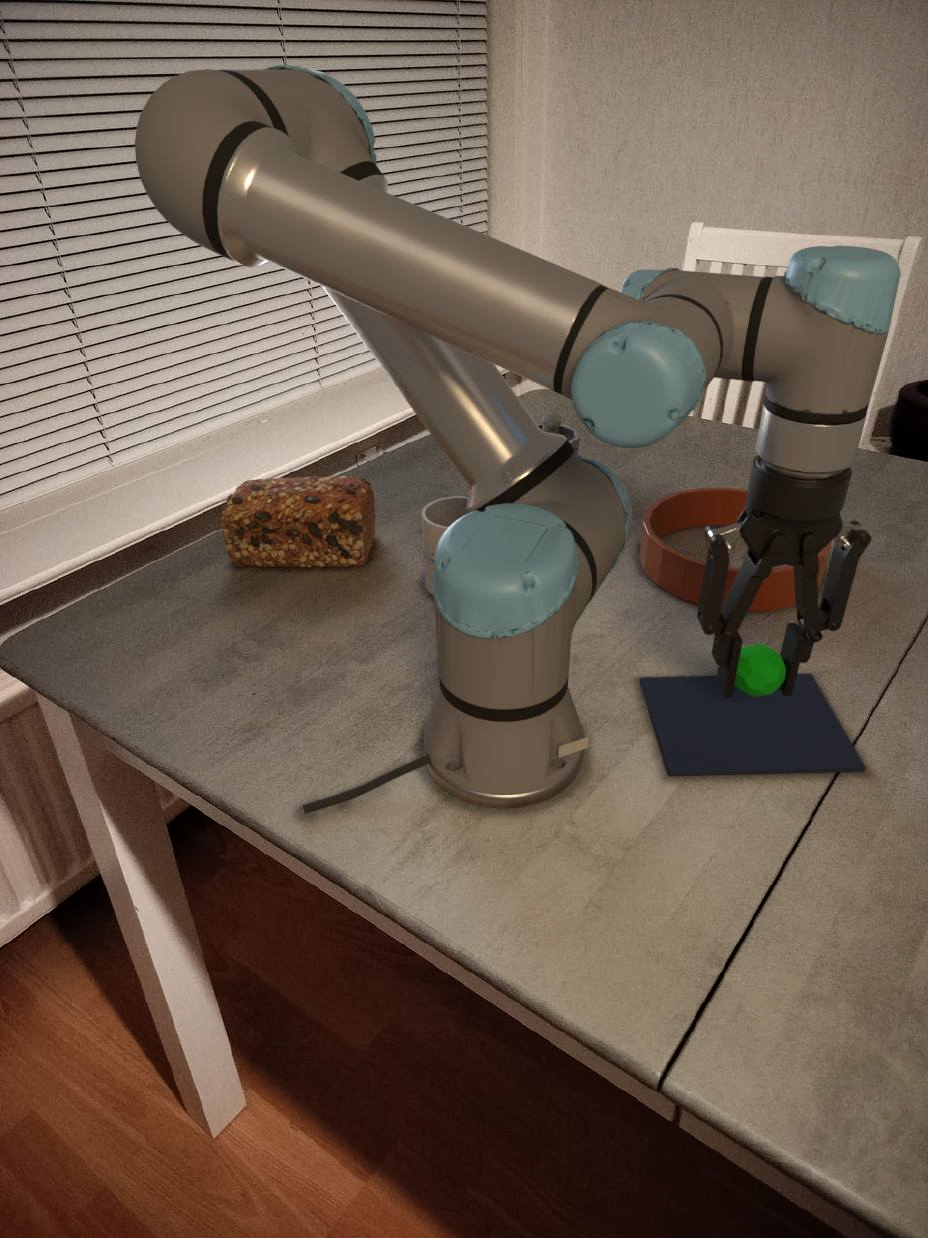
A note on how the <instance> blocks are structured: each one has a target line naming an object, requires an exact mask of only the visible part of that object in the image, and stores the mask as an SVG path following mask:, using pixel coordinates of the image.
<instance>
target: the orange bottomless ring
mask: <svg viewBox="0 0 928 1238" xmlns="http://www.w3.org/2000/svg"><path fill="white" fill-rule="evenodd" d="M747 491H748V489H742V488H735V487H734V488H733V487H697V488H692V489H686V490H681V491H680V490H679V491H676V492H672V493H671V494H668V495H666V496H663V497H661V498H659V499H657V500H656V501H654V503H653V504H651V505H650V506H649V507H647V509H646V511H645V514H644V517H643V520H642V529H641V538H640V547H639V555H638V559H639V562H640V564H641V567H642V570H643V573H644V574H645V575H646V576H647V577H648V578H649V579H650V580H651V581H652V582H653V583H654V584H655V585H656V586H657V587H659V588H661V589H662V590H664V591H666V592H667V593H669V594H671V595H673V596H675V597H677V598H679V599H681V600H684V601H687V602H690V603H693V604H697V605H699V599H700V593H701V588H702V582H703V576H704V570H705V564H706V561H704V560H700V559H697V558H693V557H690V556H688V555H686V554H684V553H682V552H680V551H679V550H677V549H674V548H672V547H670V546H668V545H667V544H666V543H665V542H664V541H663V540H662V539H661V538H660V537H663V536H664V535H667V534H670V533H672V532H674V531H678V530H683V529H688V528H693V527H707V526H709V525H716V526H720V527H725V526H728V525H732V524H735V523H736V522H737V519H738V517H739V516H740V514H741V513H742V512H743V510H744V508H745V505H746V497H747ZM832 545H833V543H832V541H831V542H830V543H829V544H828V545H827V546H825V547H824V548H823V549H822V550H821V551H820V552H819V553H818V565H819V574H817V585H818V588H820V586H821V584H822V583H823V579H824V575H825V572H826V568H827V564H828V561H829V557H830V553H831V548H832ZM739 569H740V567H733V566H732V567H731V566H729V568H728V574H727V579H726V584H725V589H724V595H723V600H722V605H723V603H724V601H725V598H726V596H727V594H728V592H729V590H730V588H731V586H732V584H733V582H734V580H735V578H736V576H737V573H738V571H739ZM722 605H721V607H722ZM791 607H796V599H795V584H794V570H793V566H790V565H783V566H778V567H773V569H772V571H771V573H770V575H769V577H768V578H766V579H764V580H763V582H762V584H761V586H760V588H759V590H758V592H757V594H756V596H755V598H754V600H753V602H752V604H751V606H750V608H749V610H748V612H747V613H751V612H752V613H753V612H754V613H755V612H757V613H758V612H772V611H776V610H777V611H778V610H782V609H786V608H791Z"/></svg>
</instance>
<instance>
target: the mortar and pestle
mask: <svg viewBox="0 0 928 1238" xmlns="http://www.w3.org/2000/svg"><path fill="white" fill-rule="evenodd" d="M541 420H542V422H541V423H536V424H537V425H538V427H539V428H540V429H541V430H542V431H544V432H548V433H554V434H559V435H564V436H565V437H566V438H567V439H568V441H569V442H570V444H571V445H572V446H573V448H574V449H575V451H576V452H577V454H578V452H579V448H580V441H581V438H580V434H579V430H578V429H576V428H574V427H571V426H570V425H567V424H562V417H561V415H560V414H559V413H558V412H556V411H547V412H546V413H545V414H544V415H543V416H542V419H541Z"/></svg>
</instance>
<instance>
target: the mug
mask: <svg viewBox="0 0 928 1238" xmlns="http://www.w3.org/2000/svg"><path fill="white" fill-rule="evenodd" d="M467 499H468V496H464V495H462V496H459V495H458V496H457V495H455V496H447V497H441V498H438V499H434V500H433V501H431V502H429V503H427V504H426V505H425V506H423V508H422V510H421V528H422V529H421V530H422V531H421V532H422V545H423V547H422V548H423V562H424V566H423V567H424V583H425V588H426V590H427V591H428V593H430V594H431V595H432V596H433V588H432V576H433V572H434V558H435V552H436V548H437V545H438V542H439V540H440V538H441V537H442V535H443V534H444V532H445V531H446V530H447V529H448V528H449V526H450V525H452V524H453V523H454V522H455V521H456V520H458V519H460V518H461V517H463V516H464V515H466V514H468V513H469V512H468V511H467V509H466V506H467Z"/></svg>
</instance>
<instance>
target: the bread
mask: <svg viewBox="0 0 928 1238" xmlns="http://www.w3.org/2000/svg"><path fill="white" fill-rule="evenodd" d="M375 504H376V502H375V493H374V490H373V488H372V485H371V481H369V480H368V479H366V478H363V477H361V476H360V477H359V476H353V475H345V476H340V475H329V476H316V475H311V476H304V477H299V476H297V477H295V476H293V477H290V478H289V477H276V478H275V477H273V478H259V479H258V478H257V479H248V480H245V481H243V482H242V483H240V485H238V486H237V487H236V489H235V491H234V492H233V493H229V495H228V496H227V500H226V502H225V507H224V510H222V517H221V519H220V525H221V531H222V532H221V533H222V535H223V538H224V543H225V547H226V551H227V555H228V557H229V559H230V561H231V563H232V565H233V566H236V567H237V568H243V567H246V566H249V567H257V568H258V567H259V568H263V567H270V568H281V567H284V568H286V567H287V568H288V567H289V568H311V567H314V566H316V567H320V568H341V567H342V568H349V567H351V566H353V565H354V566H357V567H359V566H362V565H365V563H366V562H367V560H368V559H369V555H370V552H371V549H372V548H373V544H374V541H375V535H376V517H377V516H376V506H375Z"/></svg>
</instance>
